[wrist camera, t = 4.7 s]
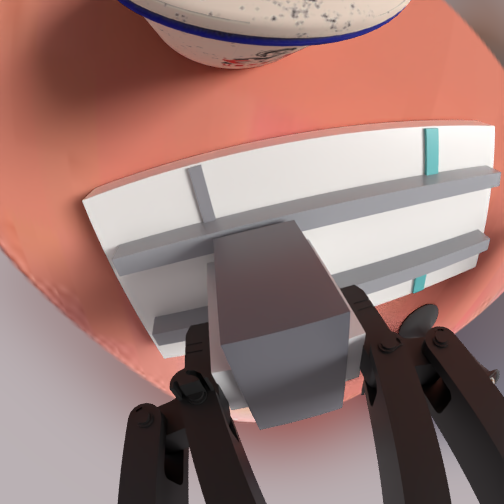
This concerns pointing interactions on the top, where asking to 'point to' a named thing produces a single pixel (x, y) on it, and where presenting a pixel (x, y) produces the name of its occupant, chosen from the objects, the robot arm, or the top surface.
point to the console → (302, 213)
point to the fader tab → (281, 324)
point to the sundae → (423, 322)
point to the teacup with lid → (259, 26)
